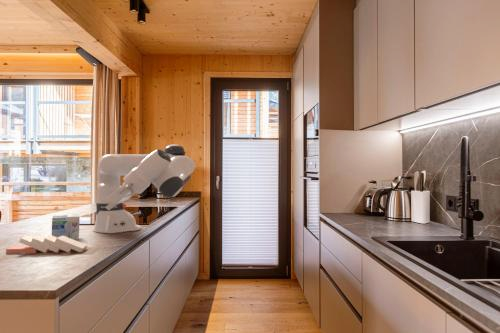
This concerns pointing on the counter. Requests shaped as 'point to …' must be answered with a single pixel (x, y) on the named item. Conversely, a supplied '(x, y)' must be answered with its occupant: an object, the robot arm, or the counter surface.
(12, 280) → the counter surface
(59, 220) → the light bulb box
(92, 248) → the thin board
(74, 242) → the domino
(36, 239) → the domino
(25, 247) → the domino
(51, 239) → the domino
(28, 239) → the domino
